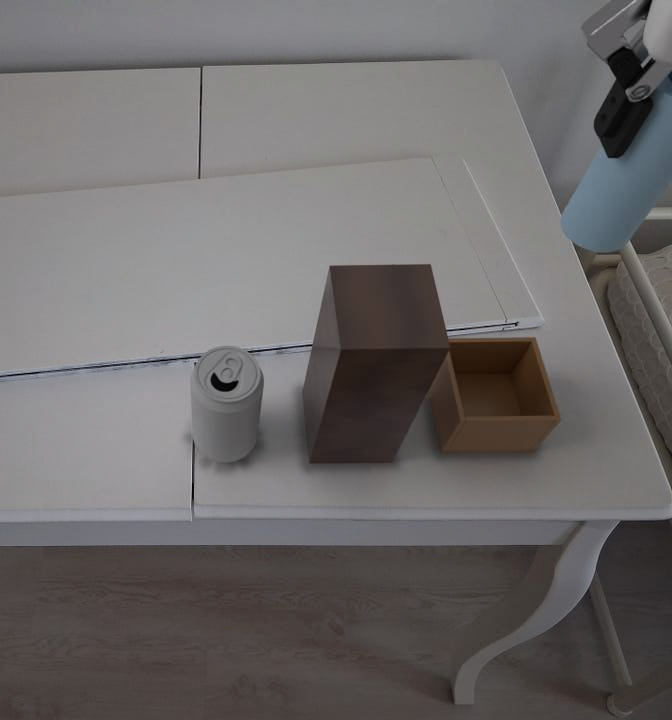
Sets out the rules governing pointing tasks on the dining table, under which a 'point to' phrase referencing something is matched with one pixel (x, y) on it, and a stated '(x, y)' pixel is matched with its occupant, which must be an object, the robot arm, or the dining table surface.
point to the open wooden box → (493, 396)
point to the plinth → (371, 361)
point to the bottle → (624, 183)
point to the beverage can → (226, 403)
